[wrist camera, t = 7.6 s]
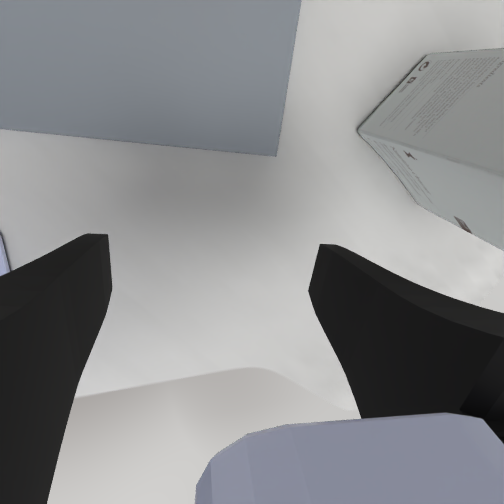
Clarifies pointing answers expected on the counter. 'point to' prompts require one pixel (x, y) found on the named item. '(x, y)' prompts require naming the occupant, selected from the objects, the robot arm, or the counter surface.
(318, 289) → the robot arm
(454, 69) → the skincare box
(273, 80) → the grey square plate
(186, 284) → the counter surface
